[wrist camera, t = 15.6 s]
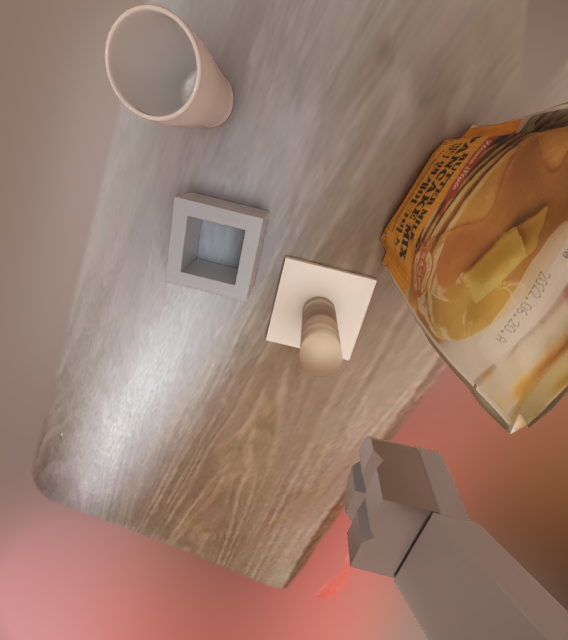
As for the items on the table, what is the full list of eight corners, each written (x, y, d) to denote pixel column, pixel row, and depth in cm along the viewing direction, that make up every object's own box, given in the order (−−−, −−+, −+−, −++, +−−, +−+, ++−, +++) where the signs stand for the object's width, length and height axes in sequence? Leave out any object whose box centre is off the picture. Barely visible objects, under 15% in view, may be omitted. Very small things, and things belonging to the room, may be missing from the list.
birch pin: (307, 292, 45) (305, 334, 34) (339, 300, 45) (347, 345, 34) (299, 322, 47) (294, 371, 36) (330, 330, 47) (335, 381, 36)
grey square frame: (192, 192, 43) (174, 196, 37) (269, 211, 43) (263, 218, 37) (182, 267, 46) (165, 281, 41) (254, 284, 46) (246, 301, 41)
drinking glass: (182, 137, 41) (113, 124, 27) (172, 62, 38) (91, 5, 24) (244, 134, 40) (207, 119, 26) (239, 58, 37) (195, -3, 24)
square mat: (286, 255, 45) (285, 257, 44) (375, 278, 45) (376, 280, 44) (266, 336, 49) (265, 340, 48) (348, 356, 49) (349, 360, 48)
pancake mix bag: (517, 133, 38) (941, 76, 12) (406, 290, 45) (528, 460, 20) (462, 98, 37) (794, -41, 12) (358, 263, 44) (419, 404, 19)
